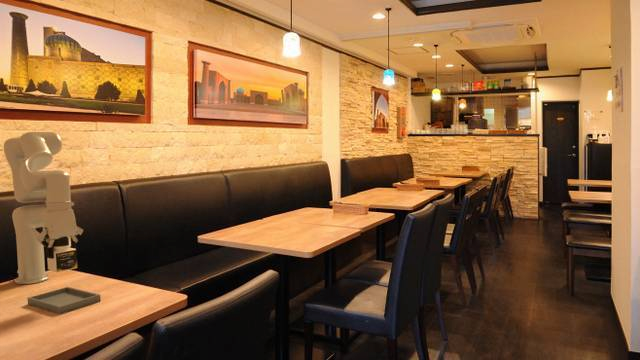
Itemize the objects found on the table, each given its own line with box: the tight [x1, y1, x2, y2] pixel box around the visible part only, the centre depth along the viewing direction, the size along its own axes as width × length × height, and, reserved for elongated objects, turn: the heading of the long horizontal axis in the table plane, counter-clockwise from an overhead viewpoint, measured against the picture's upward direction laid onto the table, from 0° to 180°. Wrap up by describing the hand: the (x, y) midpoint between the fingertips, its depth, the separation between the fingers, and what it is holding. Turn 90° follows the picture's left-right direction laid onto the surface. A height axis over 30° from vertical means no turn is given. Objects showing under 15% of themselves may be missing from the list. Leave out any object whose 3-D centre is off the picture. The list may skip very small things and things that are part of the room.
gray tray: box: [27, 286, 101, 315], centre depth 171 cm, size 20×15×2 cm
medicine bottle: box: [46, 236, 78, 273], centre depth 169 cm, size 7×7×12 cm
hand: (61, 255), depth 170 cm, fingers closed on medicine bottle, 7 cm apart
